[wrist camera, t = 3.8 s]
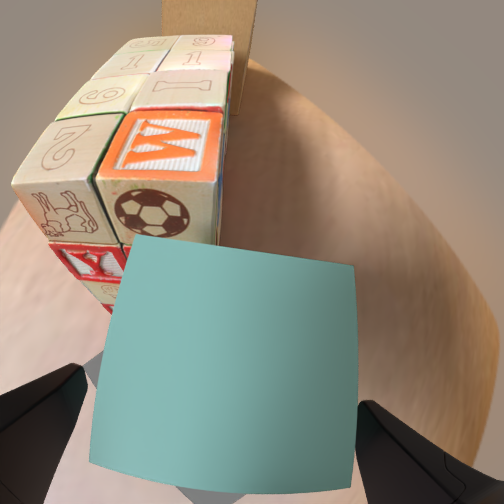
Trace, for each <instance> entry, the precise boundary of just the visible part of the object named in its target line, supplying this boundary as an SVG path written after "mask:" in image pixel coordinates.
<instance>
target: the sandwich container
mask: <svg viewBox="0 0 504 504" xmlns="http://www.w3.org/2000/svg"><path fill="white" fill-rule="evenodd" d="M257 1H258V0H162V37H163V36H176V35H232V36H233V39H232V41H234V52H235V55H234V64H233V76H232V88H231V98H230V109H229V114H230V115H238V114H239V109H240V104H241V98H242V93H243V87H244V82H245V77H246V71H247V66H248V60H249V54H250V48H251V41H252V34H253V28H254V21H255V14H256V8H257Z"/></svg>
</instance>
